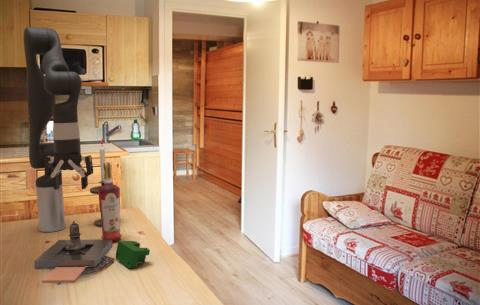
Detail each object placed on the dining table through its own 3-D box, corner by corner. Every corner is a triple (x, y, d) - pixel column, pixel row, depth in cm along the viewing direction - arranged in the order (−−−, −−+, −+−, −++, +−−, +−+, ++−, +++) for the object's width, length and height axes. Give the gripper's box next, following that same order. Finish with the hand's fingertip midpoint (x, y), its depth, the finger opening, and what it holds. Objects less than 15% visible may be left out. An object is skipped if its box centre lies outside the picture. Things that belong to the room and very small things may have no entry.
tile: (55, 269, 127) (55, 267, 127) (86, 268, 127) (86, 266, 127) (42, 282, 118) (42, 280, 118) (74, 282, 118) (74, 280, 118)
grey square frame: (59, 246, 145) (59, 239, 145) (112, 246, 145) (112, 239, 145) (34, 268, 127) (34, 260, 127) (95, 267, 127) (94, 260, 127)
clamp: (143, 277, 131) (153, 254, 128) (125, 278, 127) (135, 254, 124) (130, 252, 139) (140, 230, 137) (113, 252, 135) (122, 229, 133)
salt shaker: (79, 261, 133) (76, 224, 131) (62, 259, 134) (59, 223, 132) (89, 254, 139) (87, 218, 137) (73, 252, 140) (70, 217, 138)
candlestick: (122, 219, 177) (118, 135, 172) (116, 227, 166) (112, 138, 161) (96, 219, 176) (91, 135, 171) (88, 228, 165) (82, 138, 160)
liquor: (120, 235, 156) (116, 160, 152) (124, 241, 149) (120, 163, 145) (99, 238, 153) (95, 162, 149) (102, 245, 146) (97, 165, 142)
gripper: (94, 135, 134) (97, 186, 137) (49, 136, 134) (52, 186, 137) (85, 138, 127) (88, 191, 129) (37, 139, 127) (42, 192, 129)
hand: (70, 188), depth 133 cm, fingers open, 8 cm apart
